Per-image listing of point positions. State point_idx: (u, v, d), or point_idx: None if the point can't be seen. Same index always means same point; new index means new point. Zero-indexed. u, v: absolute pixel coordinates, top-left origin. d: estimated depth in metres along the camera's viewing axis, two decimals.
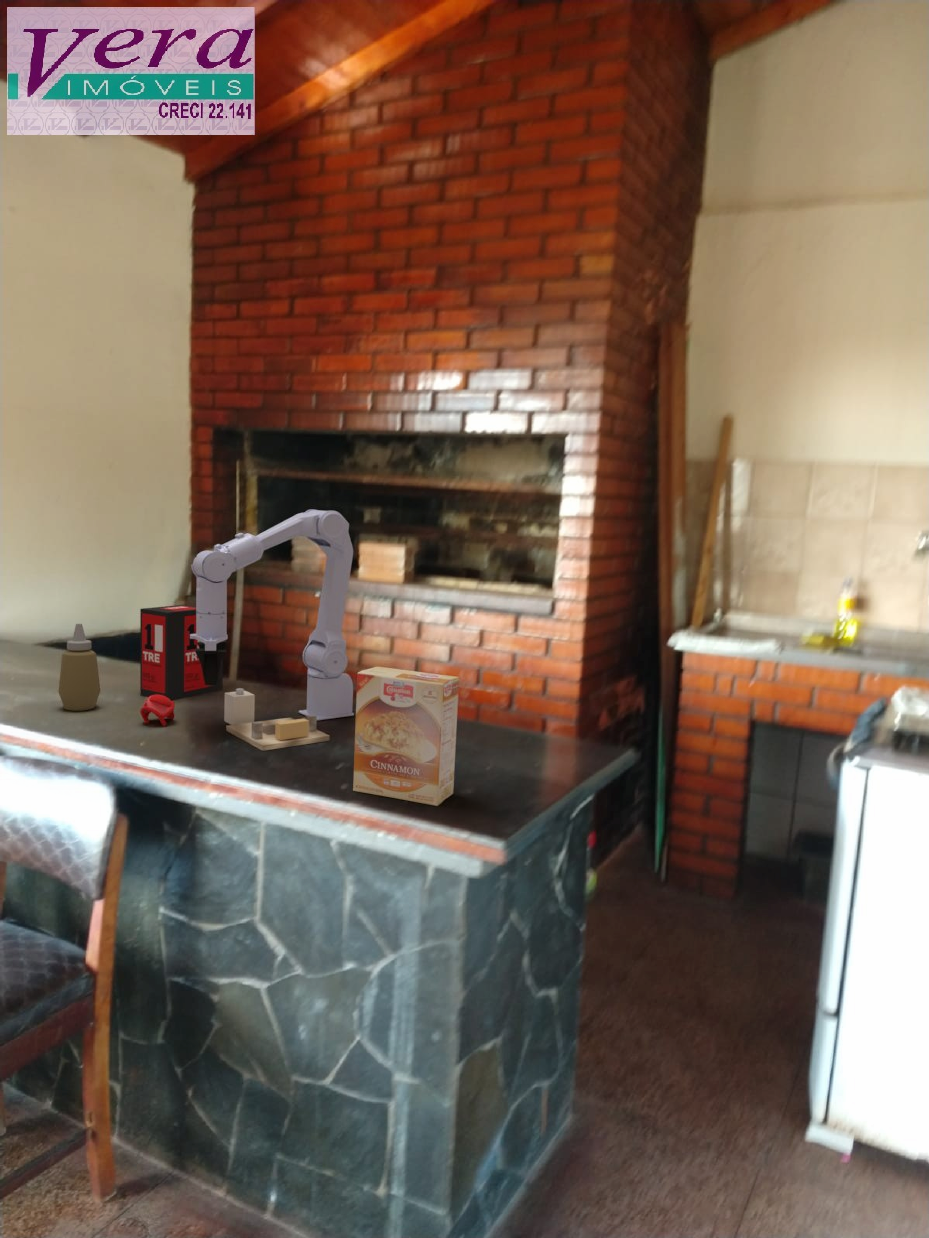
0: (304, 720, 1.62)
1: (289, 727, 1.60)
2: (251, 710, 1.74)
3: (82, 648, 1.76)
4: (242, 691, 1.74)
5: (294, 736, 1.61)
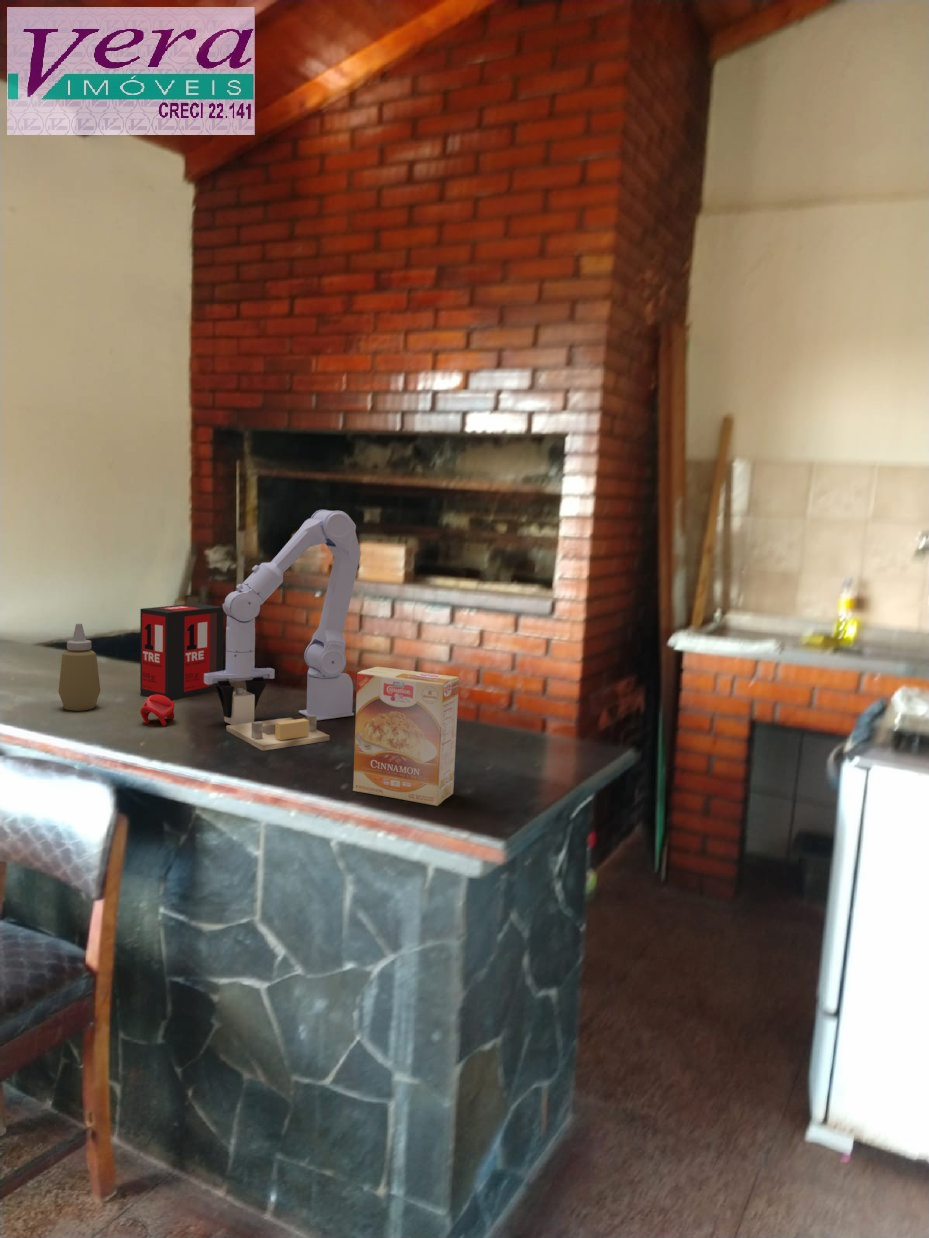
0: (304, 720, 1.62)
1: (289, 727, 1.60)
2: (251, 710, 1.74)
3: (82, 648, 1.76)
4: (242, 691, 1.74)
5: (294, 736, 1.61)
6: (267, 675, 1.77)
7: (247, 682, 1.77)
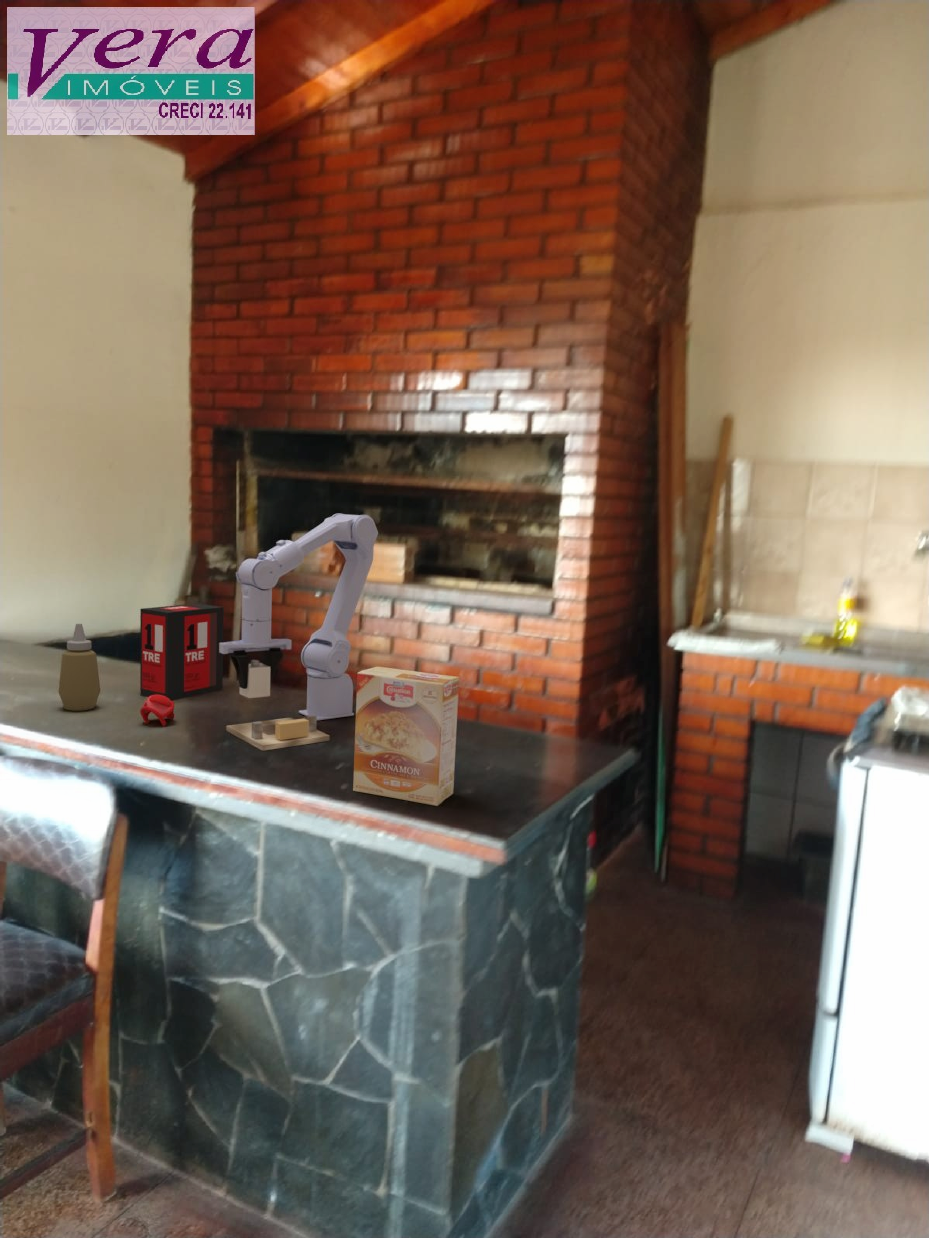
0: (304, 720, 1.62)
1: (289, 727, 1.60)
2: (267, 682, 1.70)
3: (82, 648, 1.76)
4: (257, 663, 1.70)
5: (294, 736, 1.61)
6: (284, 646, 1.73)
7: (263, 653, 1.72)
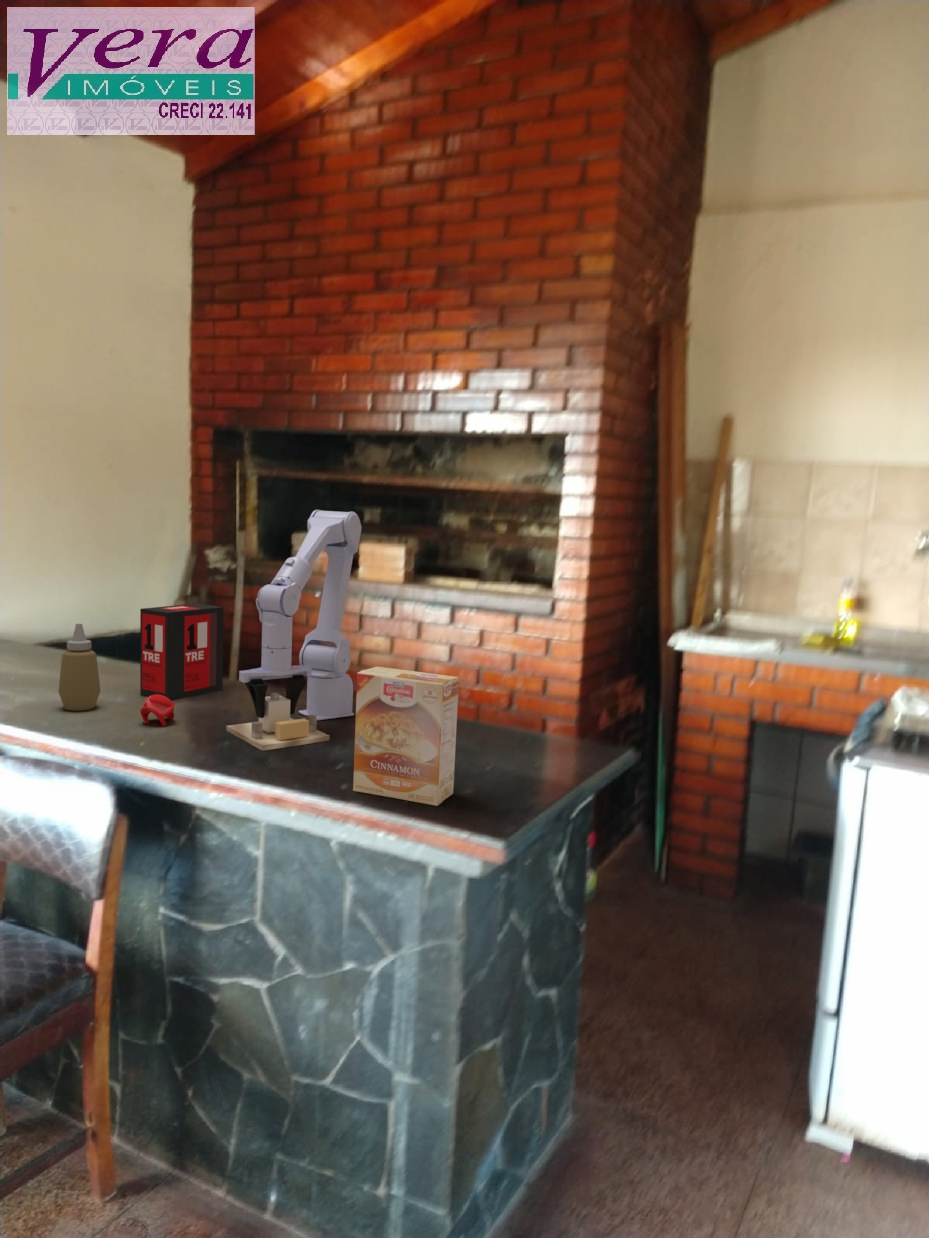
0: (304, 720, 1.62)
1: (289, 727, 1.60)
2: (287, 716, 1.66)
3: (82, 648, 1.76)
4: (277, 696, 1.66)
5: (294, 736, 1.61)
6: (304, 673, 1.69)
7: (286, 680, 1.69)
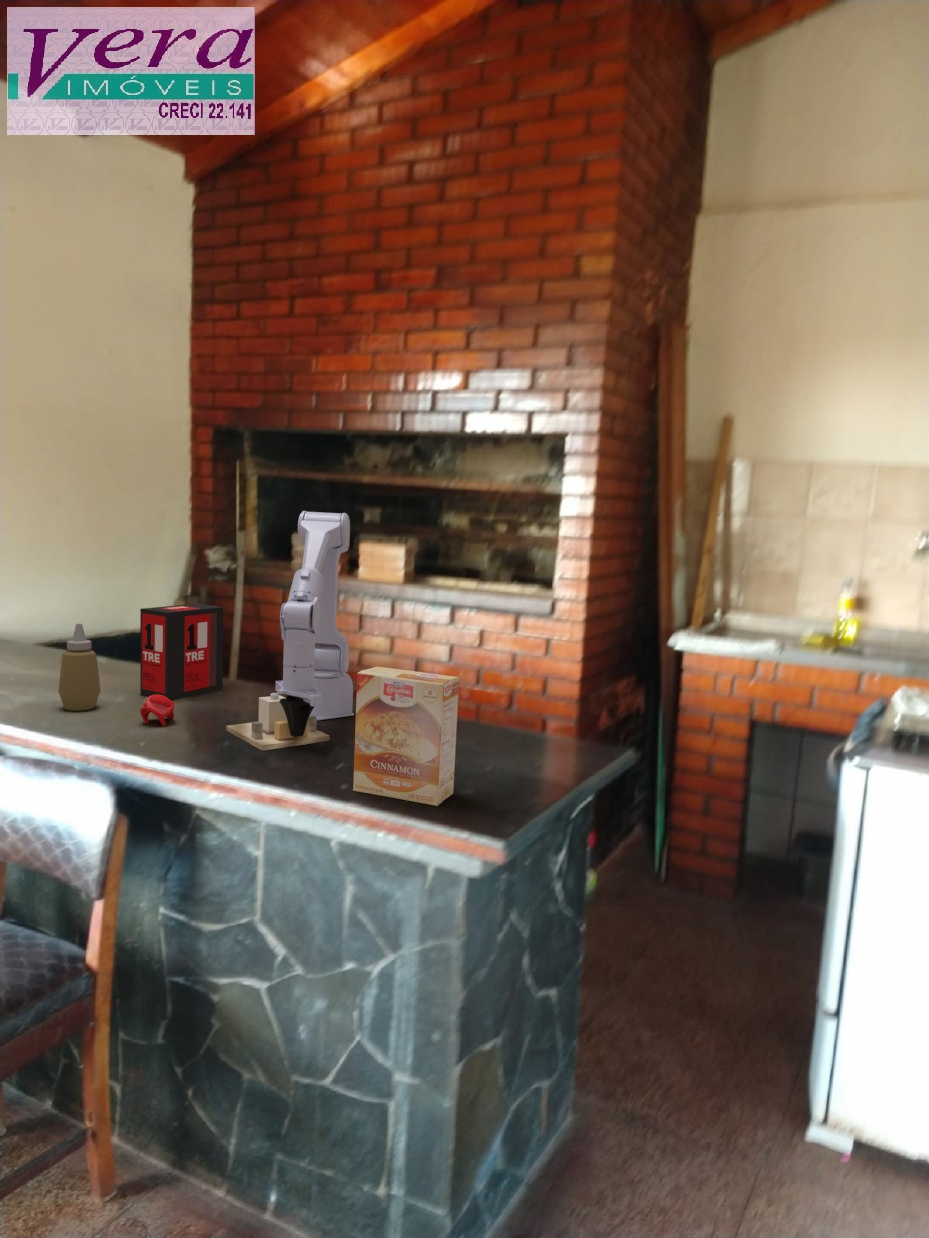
0: None
1: (288, 726, 1.60)
2: None
3: (82, 648, 1.76)
4: (277, 696, 1.66)
5: None
6: None
7: None
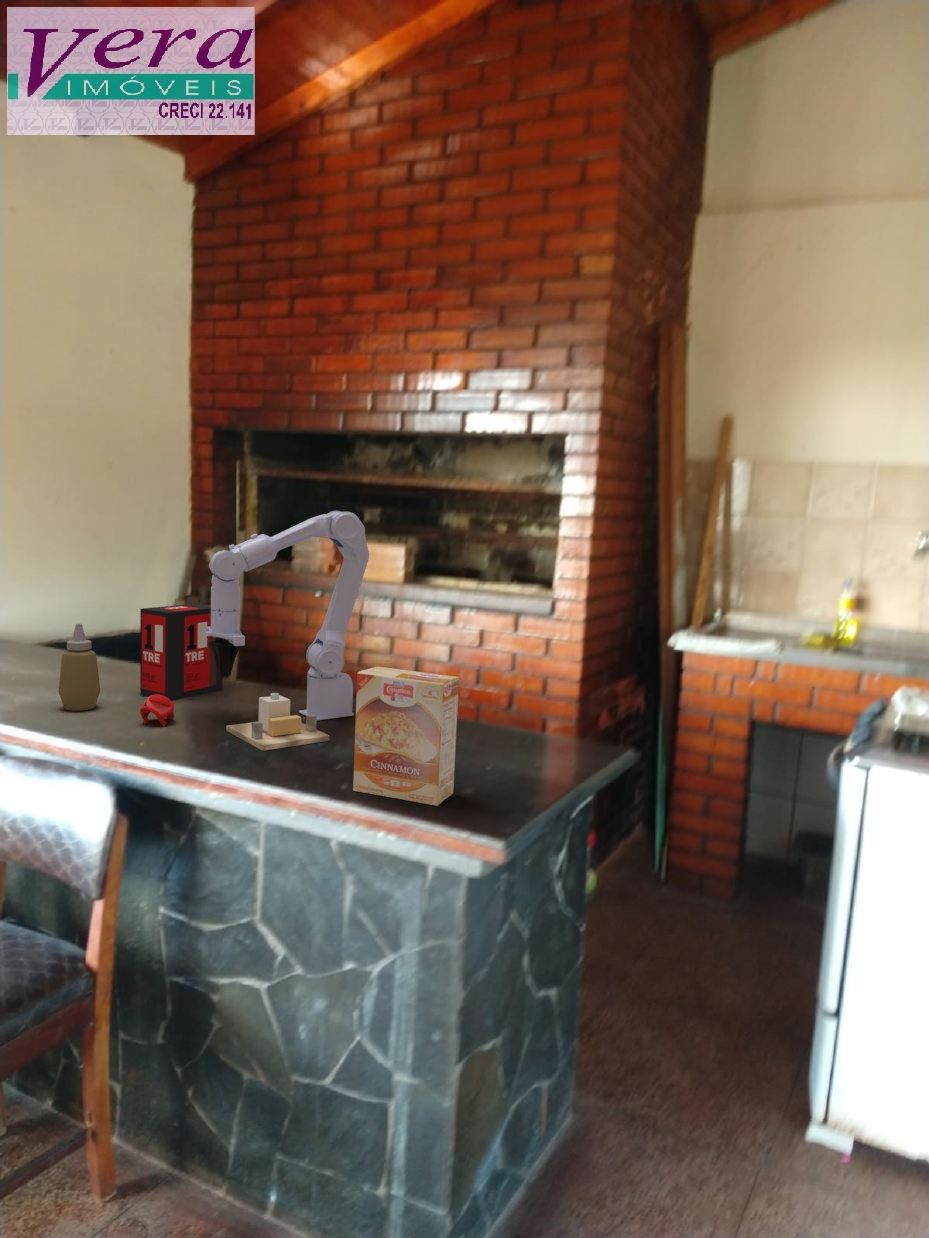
0: (296, 717, 1.65)
1: (282, 723, 1.62)
2: None
3: (82, 648, 1.76)
4: (277, 696, 1.66)
5: (286, 732, 1.63)
6: None
7: None
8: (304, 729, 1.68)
